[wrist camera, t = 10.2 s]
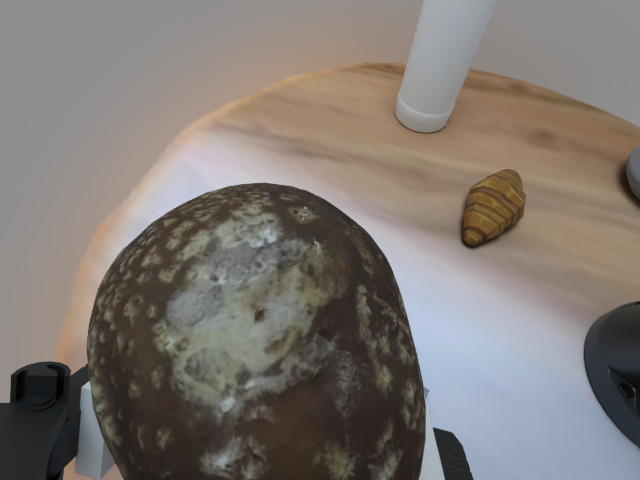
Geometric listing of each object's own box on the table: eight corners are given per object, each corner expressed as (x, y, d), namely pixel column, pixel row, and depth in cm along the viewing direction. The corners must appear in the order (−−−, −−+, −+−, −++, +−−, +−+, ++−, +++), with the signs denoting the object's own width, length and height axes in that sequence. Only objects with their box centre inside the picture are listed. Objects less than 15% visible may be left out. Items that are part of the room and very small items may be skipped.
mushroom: (229, 323, 23) (136, 127, 11) (370, 341, 23) (446, 158, 10) (179, 512, 18) (-111, 559, 6) (362, 539, 18) (491, 653, 5)
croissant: (492, 265, 43) (514, 241, 39) (439, 234, 45) (454, 208, 41) (533, 192, 50) (555, 166, 45) (484, 168, 51) (501, 140, 47)
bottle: (383, 116, 55) (457, -191, 30) (411, 91, 59) (499, -203, 34) (431, 142, 53) (554, -167, 28) (457, 114, 57) (588, -183, 31)
